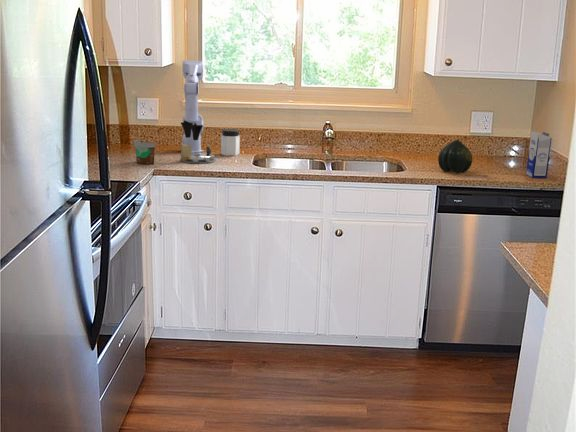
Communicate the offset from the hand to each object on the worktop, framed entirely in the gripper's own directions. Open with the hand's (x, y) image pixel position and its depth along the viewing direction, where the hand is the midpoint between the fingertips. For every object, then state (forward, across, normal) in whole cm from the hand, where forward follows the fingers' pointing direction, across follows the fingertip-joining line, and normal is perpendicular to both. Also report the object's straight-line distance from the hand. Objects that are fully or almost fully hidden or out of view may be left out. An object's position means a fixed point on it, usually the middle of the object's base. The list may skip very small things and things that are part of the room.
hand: (191, 138), depth 304 cm
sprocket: (+10, -4, -1) cm, 10 cm away
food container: (+10, +1, +24) cm, 26 cm away
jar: (+10, +3, -23) cm, 25 cm away
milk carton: (+10, -104, -117) cm, 157 cm away
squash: (+10, -79, -91) cm, 121 cm away
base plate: (+10, -4, -1) cm, 10 cm away
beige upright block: (+7, -4, +5) cm, 9 cm away
